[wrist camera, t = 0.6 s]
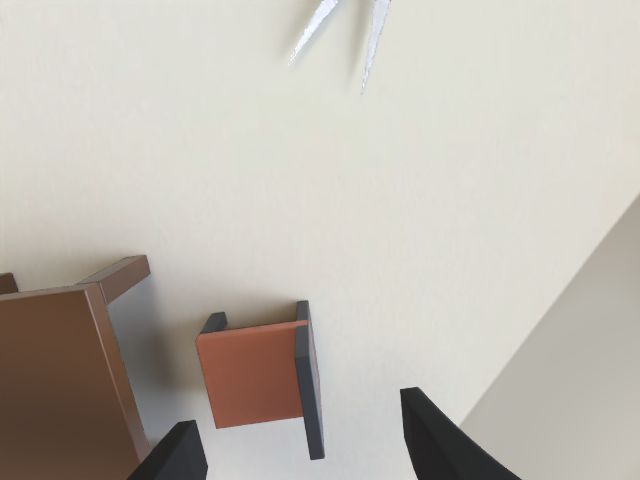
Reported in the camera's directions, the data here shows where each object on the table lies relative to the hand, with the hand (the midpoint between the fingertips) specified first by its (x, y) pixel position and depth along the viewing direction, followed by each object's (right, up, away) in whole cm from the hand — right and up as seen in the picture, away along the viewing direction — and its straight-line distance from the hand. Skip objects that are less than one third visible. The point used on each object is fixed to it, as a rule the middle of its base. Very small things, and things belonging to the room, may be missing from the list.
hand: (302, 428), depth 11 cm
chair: (-3, 0, +9) cm, 10 cm away
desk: (-13, -2, +9) cm, 16 cm away
